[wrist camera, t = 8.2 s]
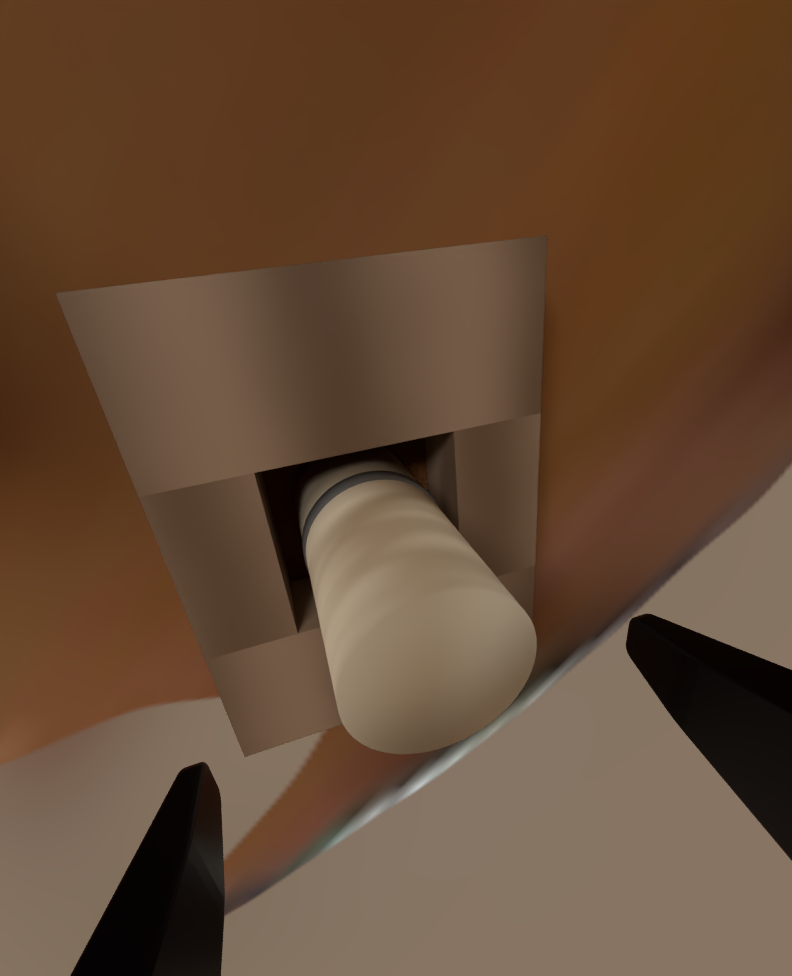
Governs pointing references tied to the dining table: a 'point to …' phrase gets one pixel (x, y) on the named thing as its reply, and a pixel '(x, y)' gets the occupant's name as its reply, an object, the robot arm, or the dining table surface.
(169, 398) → the walnut board
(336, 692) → the birch peg
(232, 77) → the dining table surface
